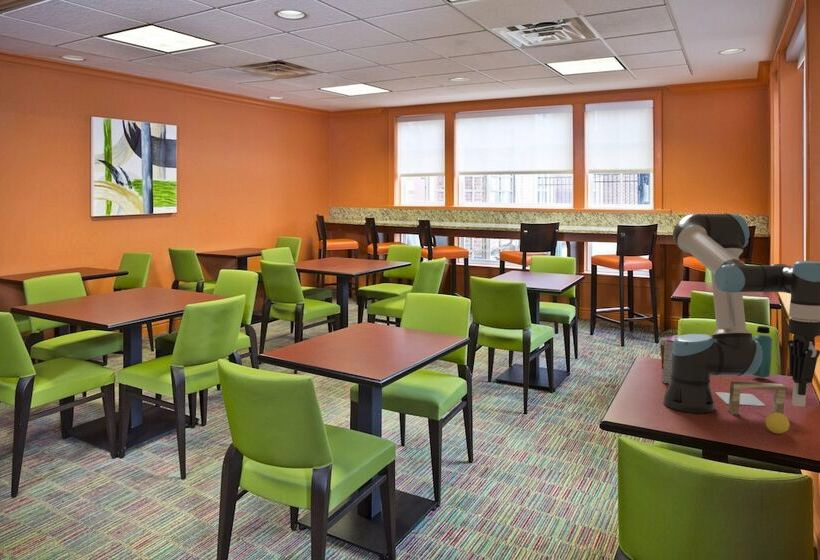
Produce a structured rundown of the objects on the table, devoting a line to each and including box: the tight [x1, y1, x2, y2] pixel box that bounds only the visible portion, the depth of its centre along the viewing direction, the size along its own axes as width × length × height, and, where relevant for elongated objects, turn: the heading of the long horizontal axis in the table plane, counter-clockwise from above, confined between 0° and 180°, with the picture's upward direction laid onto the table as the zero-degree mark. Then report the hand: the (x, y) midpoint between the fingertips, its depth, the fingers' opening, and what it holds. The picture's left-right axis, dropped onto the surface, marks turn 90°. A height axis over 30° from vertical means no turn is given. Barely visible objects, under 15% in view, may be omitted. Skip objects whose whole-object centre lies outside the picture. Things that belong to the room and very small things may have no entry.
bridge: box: [728, 380, 787, 415], centre depth 192 cm, size 3×15×10 cm, turn 80°
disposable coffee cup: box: [659, 336, 671, 369], centre depth 242 cm, size 10×10×12 cm
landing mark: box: [714, 391, 767, 407], centre depth 206 cm, size 12×12×1 cm
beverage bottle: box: [751, 325, 773, 378], centre depth 229 cm, size 6×7×20 cm
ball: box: [765, 413, 790, 435], centre depth 177 cm, size 6×6×6 cm
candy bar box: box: [661, 334, 681, 385], centre depth 226 cm, size 11×5×16 cm, turn 138°
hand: (798, 405), depth 164 cm, fingers closed
